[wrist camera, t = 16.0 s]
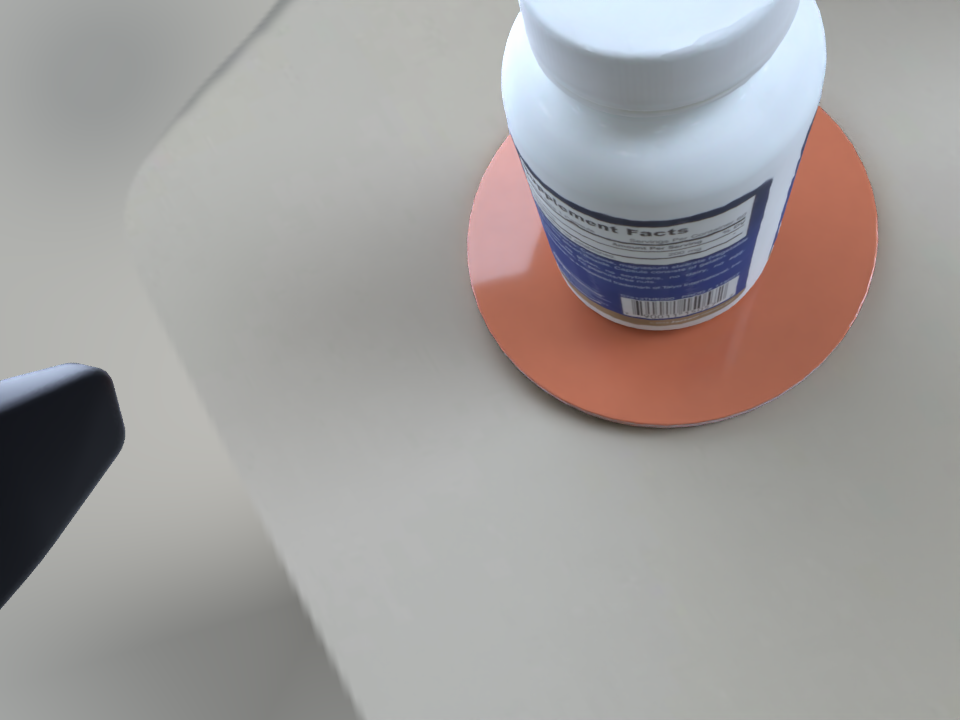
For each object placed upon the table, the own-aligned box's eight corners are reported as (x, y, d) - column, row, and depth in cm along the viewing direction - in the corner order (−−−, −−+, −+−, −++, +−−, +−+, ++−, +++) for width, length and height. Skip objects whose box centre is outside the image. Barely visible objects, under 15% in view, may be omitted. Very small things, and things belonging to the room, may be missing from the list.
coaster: (552, 492, 19) (550, 490, 19) (421, 161, 22) (416, 153, 22) (958, 327, 18) (965, 321, 18) (757, 6, 21) (759, -5, 21)
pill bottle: (630, 104, 21) (603, -269, 12) (817, 199, 19) (955, -156, 10) (510, 266, 20) (386, 7, 11) (692, 378, 19) (716, 177, 10)
